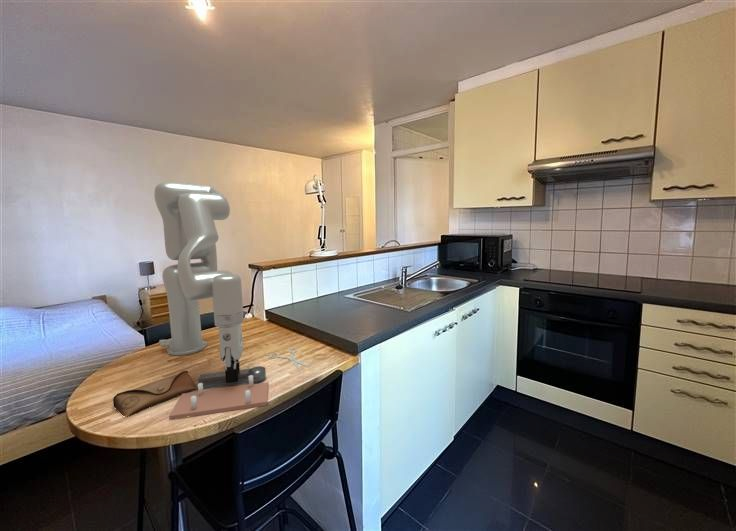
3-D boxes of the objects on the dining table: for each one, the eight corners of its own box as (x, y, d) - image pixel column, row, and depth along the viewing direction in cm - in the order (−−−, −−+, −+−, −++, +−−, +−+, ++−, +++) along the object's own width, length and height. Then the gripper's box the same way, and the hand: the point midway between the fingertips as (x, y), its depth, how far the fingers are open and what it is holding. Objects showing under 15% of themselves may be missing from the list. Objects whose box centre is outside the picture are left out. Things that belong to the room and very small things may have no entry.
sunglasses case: (123, 419, 73) (116, 391, 74) (117, 423, 77) (110, 397, 79) (201, 387, 87) (194, 364, 89) (193, 392, 91) (186, 370, 93)
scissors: (292, 346, 116) (321, 363, 101) (292, 348, 116) (321, 366, 101) (264, 354, 109) (291, 374, 94) (265, 356, 109) (292, 376, 94)
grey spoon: (197, 391, 86) (196, 381, 85) (201, 382, 90) (201, 373, 90) (265, 382, 90) (265, 372, 90) (266, 374, 95) (265, 365, 94)
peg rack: (169, 419, 73) (167, 404, 73) (182, 397, 83) (181, 383, 82) (266, 405, 79) (266, 390, 78) (268, 385, 88) (267, 372, 88)
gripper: (239, 326, 81) (243, 391, 83) (246, 309, 96) (249, 365, 99) (207, 328, 79) (213, 396, 81) (220, 311, 94) (224, 368, 97)
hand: (233, 378), depth 90 cm, fingers closed on grey spoon, 2 cm apart
